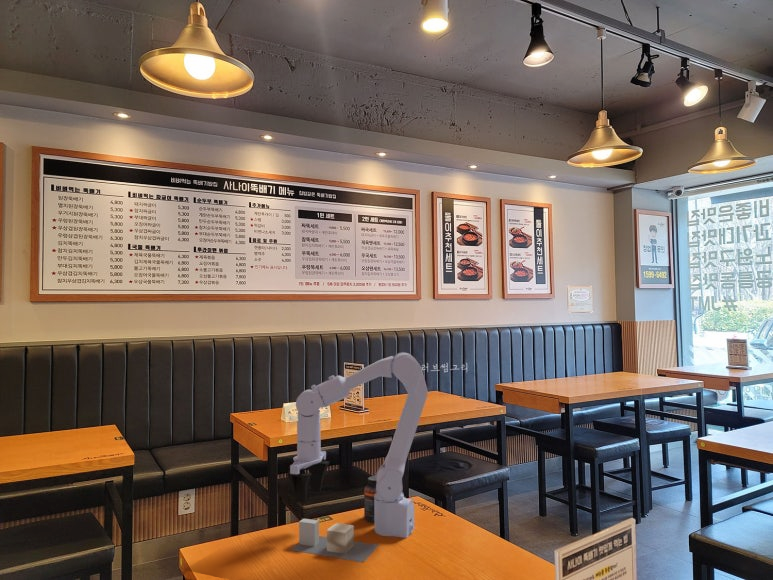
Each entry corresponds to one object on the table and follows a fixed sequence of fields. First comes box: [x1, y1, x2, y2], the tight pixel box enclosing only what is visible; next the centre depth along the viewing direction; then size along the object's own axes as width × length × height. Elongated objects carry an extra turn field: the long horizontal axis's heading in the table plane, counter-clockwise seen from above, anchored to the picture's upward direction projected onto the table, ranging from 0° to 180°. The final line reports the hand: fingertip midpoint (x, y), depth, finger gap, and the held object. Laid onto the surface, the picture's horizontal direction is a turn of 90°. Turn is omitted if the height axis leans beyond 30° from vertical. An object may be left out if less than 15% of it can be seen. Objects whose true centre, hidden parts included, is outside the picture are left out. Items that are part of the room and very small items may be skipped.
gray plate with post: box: [289, 518, 380, 563], centre depth 119 cm, size 18×9×6 cm, turn 69°
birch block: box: [326, 522, 355, 554], centre depth 118 cm, size 4×4×4 cm
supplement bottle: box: [363, 475, 377, 524], centre depth 136 cm, size 6×6×11 cm
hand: (308, 496), depth 128 cm, fingers open, 7 cm apart
